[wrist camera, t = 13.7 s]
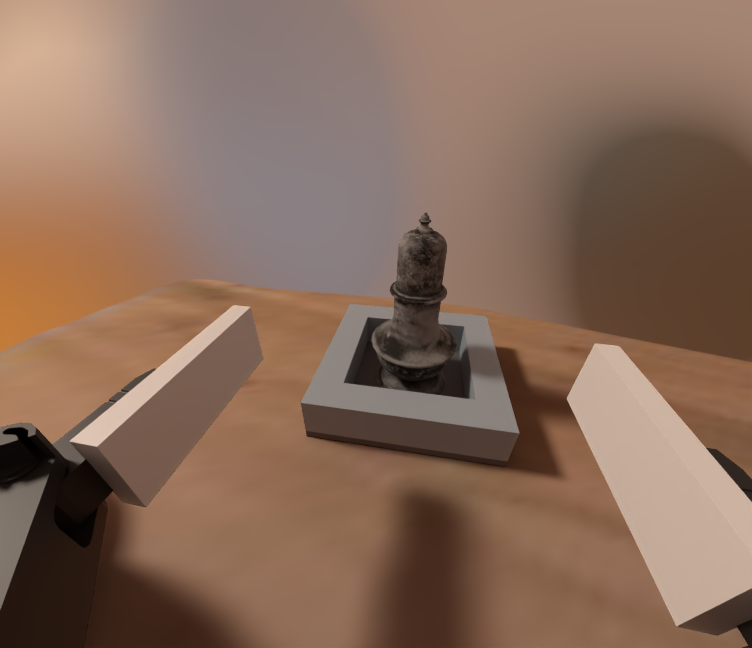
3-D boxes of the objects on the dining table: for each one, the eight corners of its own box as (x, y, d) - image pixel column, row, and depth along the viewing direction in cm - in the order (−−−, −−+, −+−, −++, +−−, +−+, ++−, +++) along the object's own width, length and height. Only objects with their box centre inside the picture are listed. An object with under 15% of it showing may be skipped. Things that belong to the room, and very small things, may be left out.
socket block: (479, 344, 27) (486, 316, 25) (505, 466, 17) (519, 433, 15) (351, 331, 29) (350, 303, 27) (306, 435, 19) (300, 402, 17)
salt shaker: (450, 359, 24) (478, 205, 18) (448, 414, 20) (486, 230, 13) (380, 348, 25) (383, 200, 19) (362, 398, 21) (358, 222, 14)
